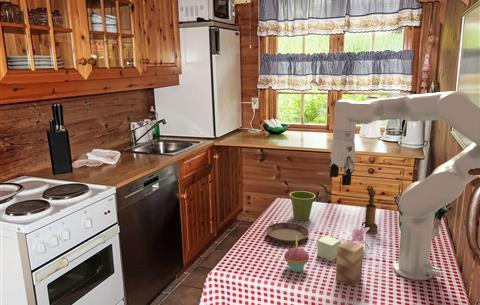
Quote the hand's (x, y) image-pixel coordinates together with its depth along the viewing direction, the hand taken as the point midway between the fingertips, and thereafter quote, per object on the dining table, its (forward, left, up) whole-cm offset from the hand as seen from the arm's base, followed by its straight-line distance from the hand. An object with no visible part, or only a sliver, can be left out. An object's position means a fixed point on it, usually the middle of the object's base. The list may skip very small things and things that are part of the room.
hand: (339, 180), depth 142 cm
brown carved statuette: (0, -28, -28) cm, 39 cm away
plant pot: (+29, -19, -28) cm, 45 cm away
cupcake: (+3, +21, -28) cm, 35 cm away
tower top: (-14, +14, -22) cm, 30 cm away
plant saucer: (+21, +2, -29) cm, 36 cm away
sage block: (0, +4, -28) cm, 28 cm away
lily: (-4, -8, -28) cm, 30 cm away
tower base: (-14, +14, -28) cm, 34 cm away
